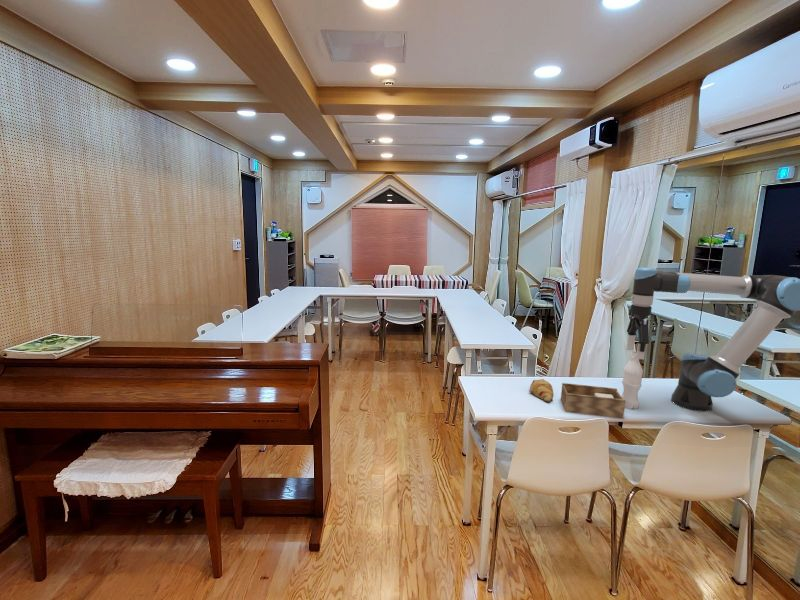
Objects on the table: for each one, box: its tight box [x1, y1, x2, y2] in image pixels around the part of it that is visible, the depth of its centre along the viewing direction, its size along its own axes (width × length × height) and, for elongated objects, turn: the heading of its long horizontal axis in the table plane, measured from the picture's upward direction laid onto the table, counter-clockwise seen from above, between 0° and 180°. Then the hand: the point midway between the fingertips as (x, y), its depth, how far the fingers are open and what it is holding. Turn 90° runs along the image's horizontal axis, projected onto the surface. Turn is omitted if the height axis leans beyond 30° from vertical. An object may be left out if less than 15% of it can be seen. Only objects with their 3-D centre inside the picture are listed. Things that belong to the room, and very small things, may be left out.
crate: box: [560, 382, 626, 420], centre depth 173 cm, size 22×13×9 cm, turn 76°
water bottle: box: [621, 350, 644, 410], centre depth 176 cm, size 7×7×25 cm
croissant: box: [529, 378, 554, 402], centre depth 190 cm, size 21×10×8 cm, turn 0°
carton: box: [594, 393, 614, 398], centre depth 172 cm, size 7×10×5 cm
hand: (634, 354), depth 174 cm, fingers open, 13 cm apart
